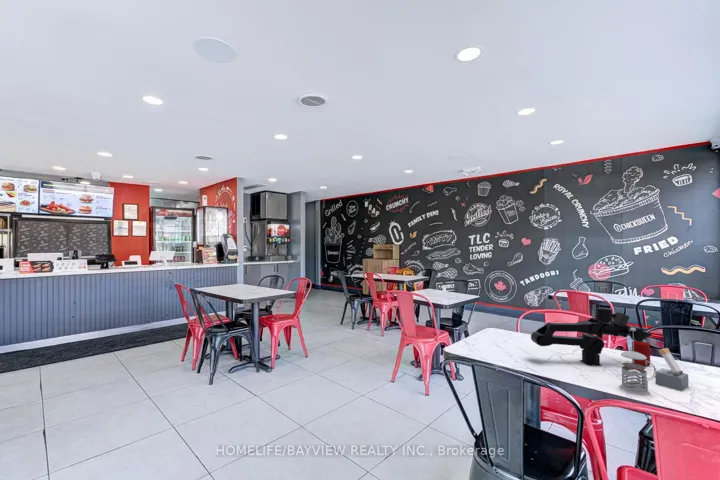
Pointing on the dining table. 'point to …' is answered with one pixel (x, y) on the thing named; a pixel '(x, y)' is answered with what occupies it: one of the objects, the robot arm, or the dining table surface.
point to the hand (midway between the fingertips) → (644, 332)
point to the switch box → (672, 379)
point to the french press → (635, 373)
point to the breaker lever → (670, 360)
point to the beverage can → (642, 351)
